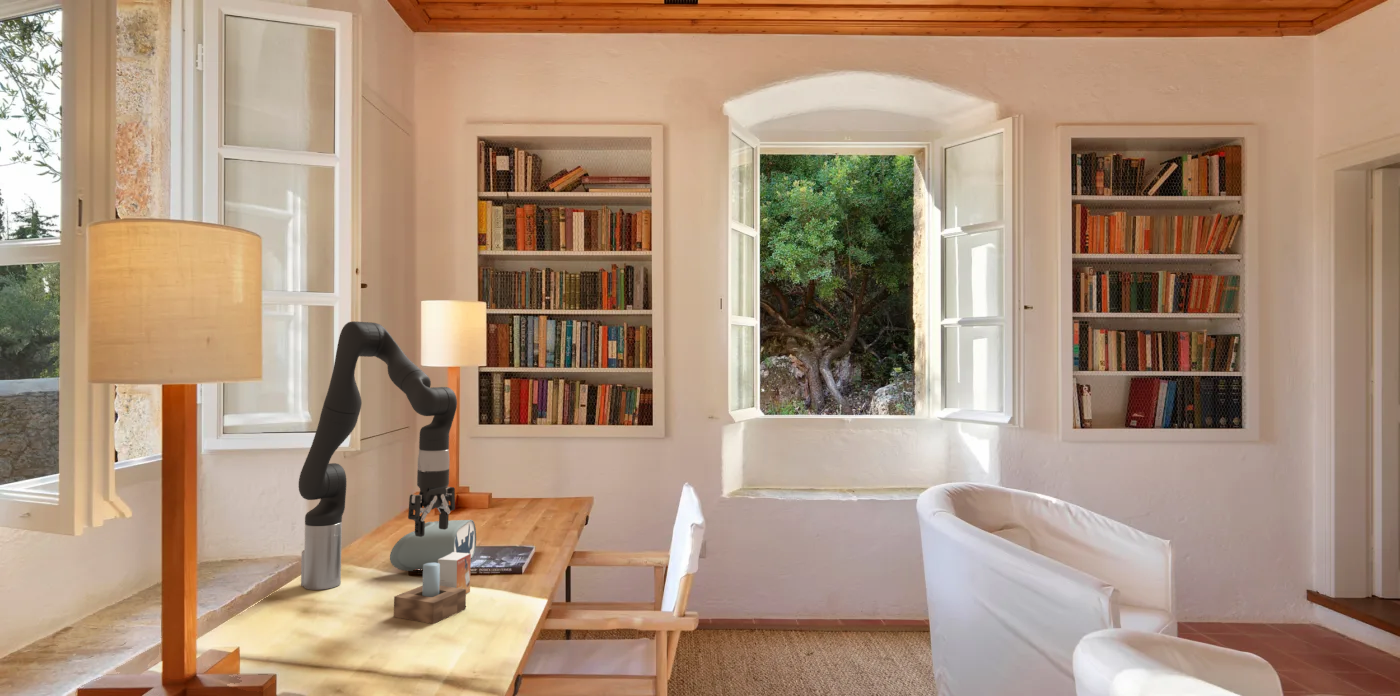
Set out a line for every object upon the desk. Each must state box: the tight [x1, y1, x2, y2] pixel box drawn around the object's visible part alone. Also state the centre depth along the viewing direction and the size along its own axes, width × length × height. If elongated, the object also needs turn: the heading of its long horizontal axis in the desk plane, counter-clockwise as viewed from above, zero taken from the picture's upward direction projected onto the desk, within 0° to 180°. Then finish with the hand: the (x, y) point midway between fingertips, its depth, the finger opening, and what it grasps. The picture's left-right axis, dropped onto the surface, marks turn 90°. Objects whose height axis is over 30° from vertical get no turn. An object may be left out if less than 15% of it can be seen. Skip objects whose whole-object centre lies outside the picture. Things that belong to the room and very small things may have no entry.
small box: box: [438, 552, 472, 595], centre depth 213 cm, size 8×6×10 cm
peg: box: [422, 563, 440, 597], centre depth 199 cm, size 4×4×12 cm
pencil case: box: [389, 519, 477, 572], centre depth 242 cm, size 22×19×13 cm
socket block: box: [393, 585, 467, 625], centre depth 199 cm, size 12×12×5 cm
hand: (431, 532), depth 199 cm, fingers open, 8 cm apart
